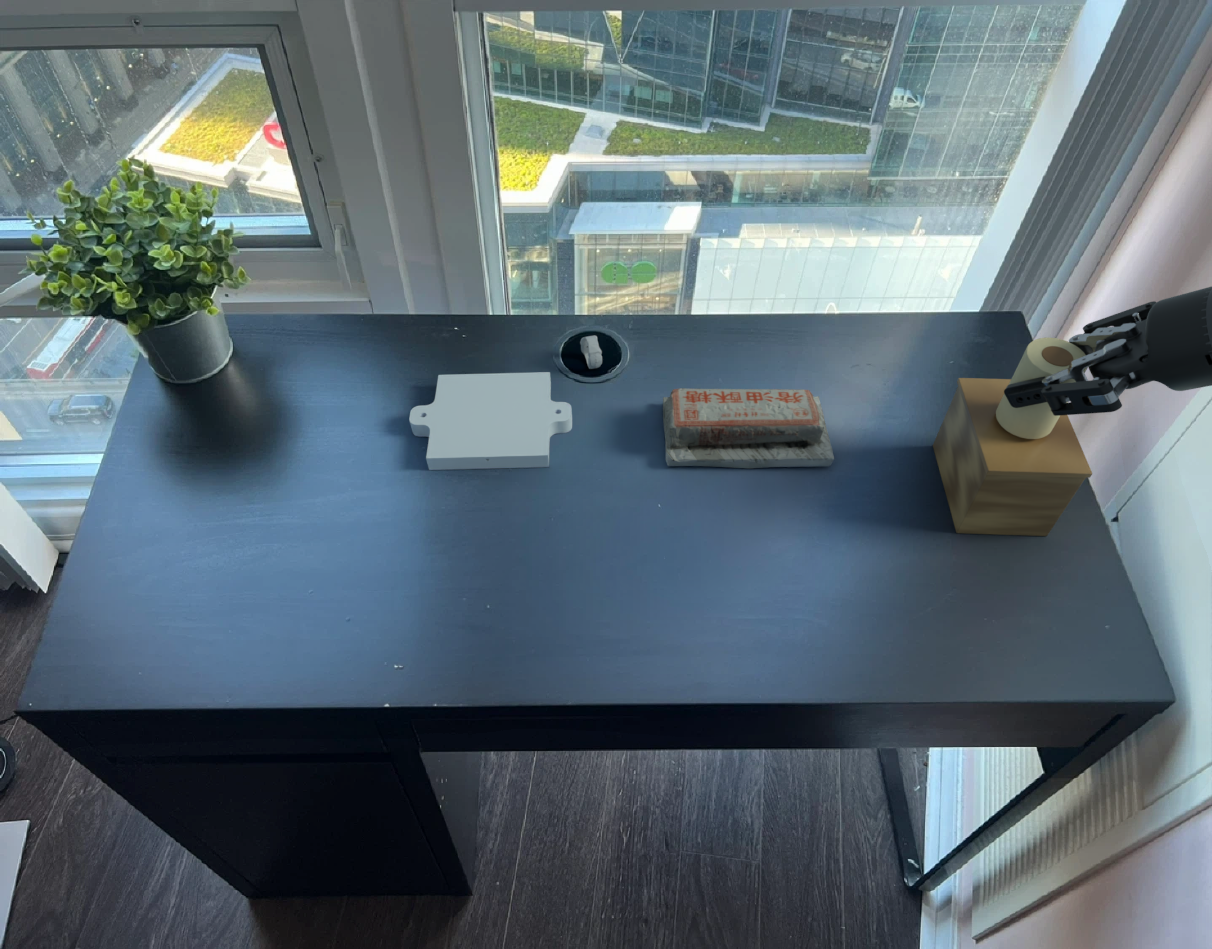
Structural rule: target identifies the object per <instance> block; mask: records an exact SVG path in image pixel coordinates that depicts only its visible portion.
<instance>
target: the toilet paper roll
mask: <svg viewBox="0 0 1212 949" xmlns="http://www.w3.org/2000/svg"><path fill="white" fill-rule="evenodd" d="M1083 356H1086V355H1085V353H1084V352H1083V351H1082V350H1081V349H1080V348H1078V347H1077V346H1075V345H1074V344H1072V343H1070V342H1069V340H1065V339H1061V338H1057V337H1040V338H1036V339H1034V340H1032V341H1030V343H1028V345H1027V346H1026V348H1025V350H1024V352H1023V354H1022V357H1021V359H1020V360H1019V362H1018V364H1017V367H1016V369H1015V371H1014V372H1013V375H1012V377H1011V378H1010V379H1011V381H1010V383H1009V384H1013V383H1017V382H1022V381H1026V380H1030V379H1035V378H1039V377H1044V376H1045V377H1047V376H1049V375H1052V374H1055V373H1057V372H1060V371H1062V370H1065V369H1067V368H1069V365H1070V363H1071V362H1072V361H1073V360H1076V359H1078V358H1081V357H1083ZM1088 369H1089V367H1086V368H1085V369H1084V370H1083V371H1084V373H1085V374H1086V372H1087V370H1088ZM1072 382H1076V381H1075V380H1074V379H1068V380H1066V381H1063V382H1061V383H1060V384H1062V383H1072ZM1066 403H1069V402H1066ZM1059 417H1060V416H1055V415H1053V413H1052V411H1051V408H1050V406H1049V404H1048V403H1047V402H1045V403H1040V404H1035V405H1030V406H1025V407H1020V408H1014V407H1012V406H1011V405H1010V403H1009V401H1008V399H1007V397H1006V396H1005V394H1004V395H1003V397H1002V399H1001V401H1000V403H999V406H998V408H997V410H996V418H997V420H998V422H999V424H1000V425H1001V426H1002V427H1003V428H1004V429H1005V430H1006V431H1008V432H1010V433H1011V434H1013V435H1016V436H1018V437H1021V438H1026V439H1039V438H1043V437H1045V436H1047V435H1048V434H1050V432H1051V431H1052V429H1053V427H1054V426H1055V424H1056V422H1057V421H1058V419H1059Z"/></svg>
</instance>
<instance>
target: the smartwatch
mask: <svg viewBox="0 0 1212 949" xmlns="http://www.w3.org/2000/svg"><path fill="white" fill-rule="evenodd" d="M598 339H599V338H598V336H597V335H588V336H584V337H581V339H580V341H579V345H580V351H581V353H582V354H583V355H584V358H585V361H586V364H587V367H588V369H589V370H594V369H598V368H600V367H601V365H602V364H603V356H602V354H603V350H602V349H601V347H600V344H599V341H598Z"/></svg>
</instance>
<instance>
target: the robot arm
mask: <svg viewBox="0 0 1212 949" xmlns="http://www.w3.org/2000/svg"><path fill="white" fill-rule="evenodd" d="M1082 330H1083V333H1078V334H1075V335H1073V336H1072V337H1070V338H1069V339H1068V342H1070V343H1072V344H1074V345H1075V346H1077V347H1078V348H1080V349H1081V350H1082V351H1083V352H1084V353H1085V355H1086V356H1083V357H1081V358H1078V359H1076V360H1073V361H1072V362H1071V363H1070V365H1069V368H1067V369H1065V370H1062V371H1060V372H1057V373H1055V374H1052V375H1049V376H1047V377H1045V376H1044V377H1039V378H1035V379H1030V380H1026V381H1022V382H1017V383H1013V384H1009V385H1008V386H1007V387H1006V389H1005V390H1004V394H1005V396H1006V397H1007V399H1008V401H1009V403H1010V405H1011V406H1012V407H1014V408H1020V407H1025V406H1030V405H1035V404H1040V403H1045V402H1047V403H1048V404H1049V406H1050V408H1051V411H1052V413H1053V415H1055V416H1060V415H1068V416H1073V415H1075V416H1076V415H1087V414H1088V415H1089V414H1102V413H1103V414H1104V413H1113V412H1116V411H1118V410H1120V409H1121V408H1122V407H1123V404H1122V401H1121V400H1120V398H1119V397H1120V396H1121V395H1122V394H1123V393H1124V392H1125V390H1132V389H1135V388H1137V387H1140V386H1142V385H1145V384H1149V383H1151V382H1157V383H1159V384H1162V385H1163V386H1165V387H1167V388H1168V389H1170V390H1171V391H1176V392H1184V391H1189V390H1195V389H1201V388H1207V387H1211V386H1212V285H1211V286H1209V287H1205V288H1201V289H1198V290H1193V291H1189V292H1186V293H1182V294H1179V295H1175V296H1170V297H1167V298H1164V299H1161V300H1159V301H1149V302H1146V303H1144V304H1140V305H1138V306H1134V307H1132V308H1129V309H1126V310H1124V311H1121V312H1117V313H1114V314H1112V315H1109V316H1106V317H1103V318H1100V319H1097V320H1095V321H1091V322H1089V323H1087V324H1085V325H1084V326H1083V327H1082ZM1086 367H1088V370H1089V373H1090V374H1091V376H1092V378H1093V379H1092V380H1089V379H1088V377H1087V375H1086V372H1085V373H1084V371H1083V370H1084V369H1085V368H1086ZM1068 379H1074V380H1075V381H1076V382H1072V383H1062V384H1060V383H1061V382H1063V381H1066V380H1068ZM1066 402H1068V403H1066Z"/></svg>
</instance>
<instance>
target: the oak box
mask: <svg viewBox="0 0 1212 949" xmlns="http://www.w3.org/2000/svg"><path fill="white" fill-rule="evenodd" d="M1011 379H1012V378H979V377H978V378H977V377H974V378H973V377H958V378H957V381H956V384H957V387H956V390H955V392H954V394H953V397H952V399H951V402H950V404H949V406H948V408H947V411H946V413H945V416H944V418H943V419H942V420H943V421H942V423H941V425H940V427H939V429H938V432H937V434H936V437H935V438H934V440H933V444H932V448H933V452H934V456H935V460H936V464H937V466H938V471H939V474H940V477H941V481H942V485H943V488H944V493H945V496H946V500H947V504H948V507H949V510H950V514H951V518H952V522H953V525H954V529H955V532H956V534H970V535H973V534H974V535H999V536H1001V535H1002V536H1029V537H1031V536H1033V537H1048V535H1049V534H1050V533H1051V531H1052V529H1053V528H1054V526H1055V525H1056V523H1057V522H1058V520H1059V519H1060V517H1061V516H1062V514H1063V513H1064V511H1065V510H1066V508H1067V507H1068V505H1069V504H1070V502H1071V501H1072V499H1073V498H1074V497H1075V495H1076V493H1077V492H1078V490H1079V489H1080V487H1081V486H1082V484H1083V483H1084V481H1085V480H1086V478H1087V479H1090V478H1091V477H1092V476H1093V470H1091V467H1090V465H1089V461H1088V460H1087V458H1086V455H1085V453H1084V451H1083V448H1082V446H1081V443H1080V440H1079V439H1078V437H1077V434H1076V431H1075V429H1074V426H1073V425H1072V423H1071V420H1070V418H1069V415H1060V417H1059V419H1058V421H1057V422H1056V424H1055V426H1054V427H1053V429H1052V431H1051V432H1050V434H1048V435H1047V436H1045V437H1043V438H1039V439H1026V438H1021V437H1018V436H1016V435H1013V434H1011V433H1010V432H1008V431H1006V430H1005V429H1004V428H1003V427H1002V426H1001V425H1000V424H999V422H998V420H997V418H996V410H997V408H998V406H999V403H1000V401H1001V399H1002V397H1003V395H1004V390H1005V389H1006V387H1007V386H1008V385H1009V383H1010V381H1011Z"/></svg>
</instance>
